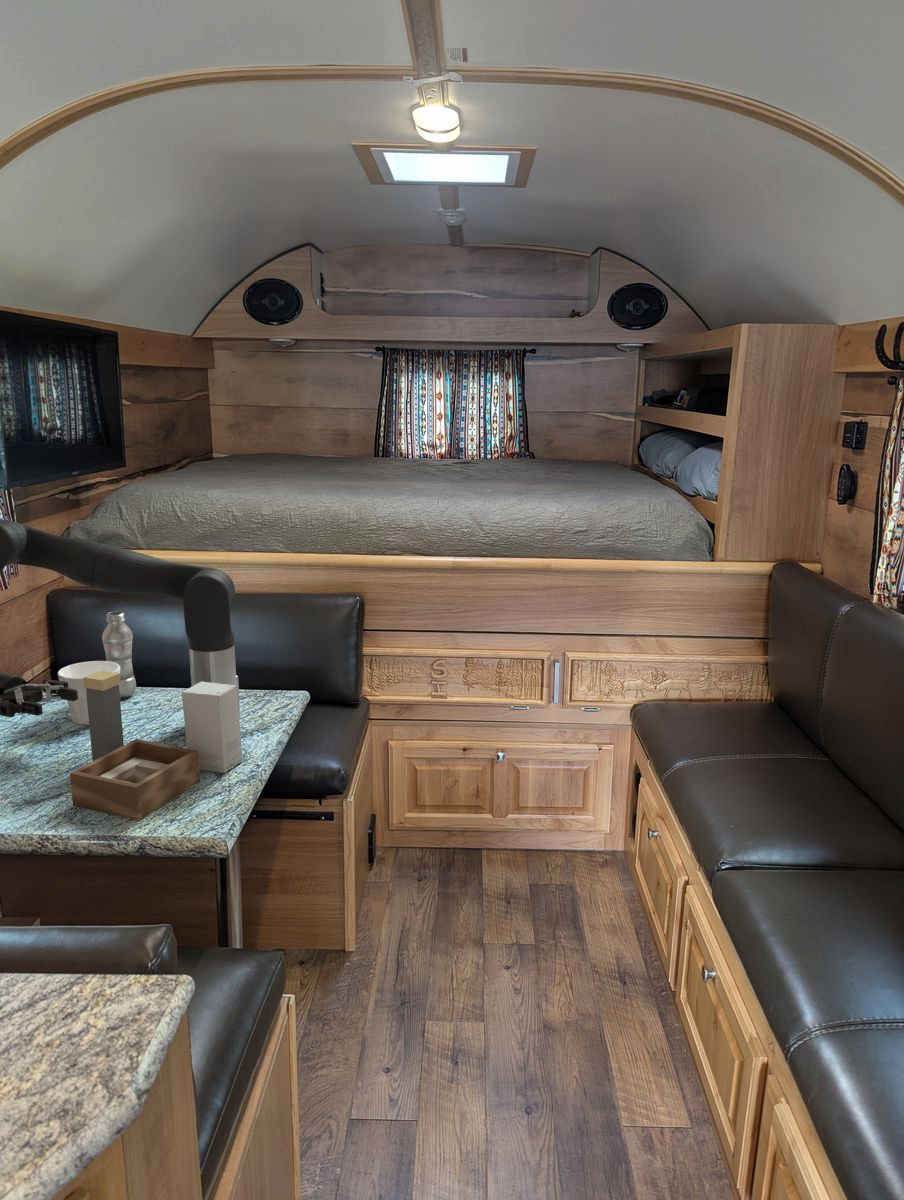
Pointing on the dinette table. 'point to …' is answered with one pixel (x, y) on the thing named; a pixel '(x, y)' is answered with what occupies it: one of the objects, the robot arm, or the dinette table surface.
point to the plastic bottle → (120, 650)
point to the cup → (82, 685)
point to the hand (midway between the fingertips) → (59, 702)
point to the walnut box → (135, 779)
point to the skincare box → (213, 725)
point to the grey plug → (104, 712)
